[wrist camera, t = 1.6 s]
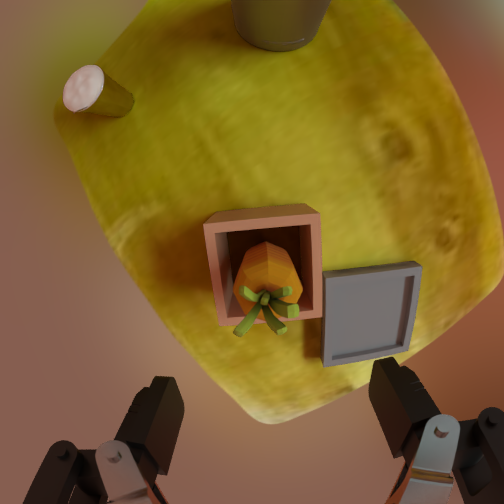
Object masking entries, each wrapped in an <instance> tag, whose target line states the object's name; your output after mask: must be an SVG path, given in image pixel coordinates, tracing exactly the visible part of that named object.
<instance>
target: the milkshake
mask: <svg viewBox="0 0 504 504" xmlns="http://www.w3.org/2000/svg"><path fill="white" fill-rule="evenodd" d="M63 102H64V105H65V106H66V107H67V108H68V109H69V110H71V111H73V112H74V113H76V112H84V113H93V114H99V115H105V116H111V117H121V116H125V115H126V114H127V113H128V112H129V111H130V110H131V109H132V106H133V103H134V99H133V95H132V93H130V92H129V91H128V90H126V89H125V88H124V87H122V86H121V85H120V84H118V83H117V82H116V81H115V80H113V79H112V78H111V77H110V76H109V75H108V74H106V73H105V72H104V71H103V70H102V69H100V68H99V67H98V66H96V65H86V66H83V67H82V68H80V69H78V70H77V71H76V72H74V73H73V74H72V75H71V77H70V78H69V80H68V81H67V83H66V84H65V86H64V90H63ZM74 113H73V114H74Z"/></svg>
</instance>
